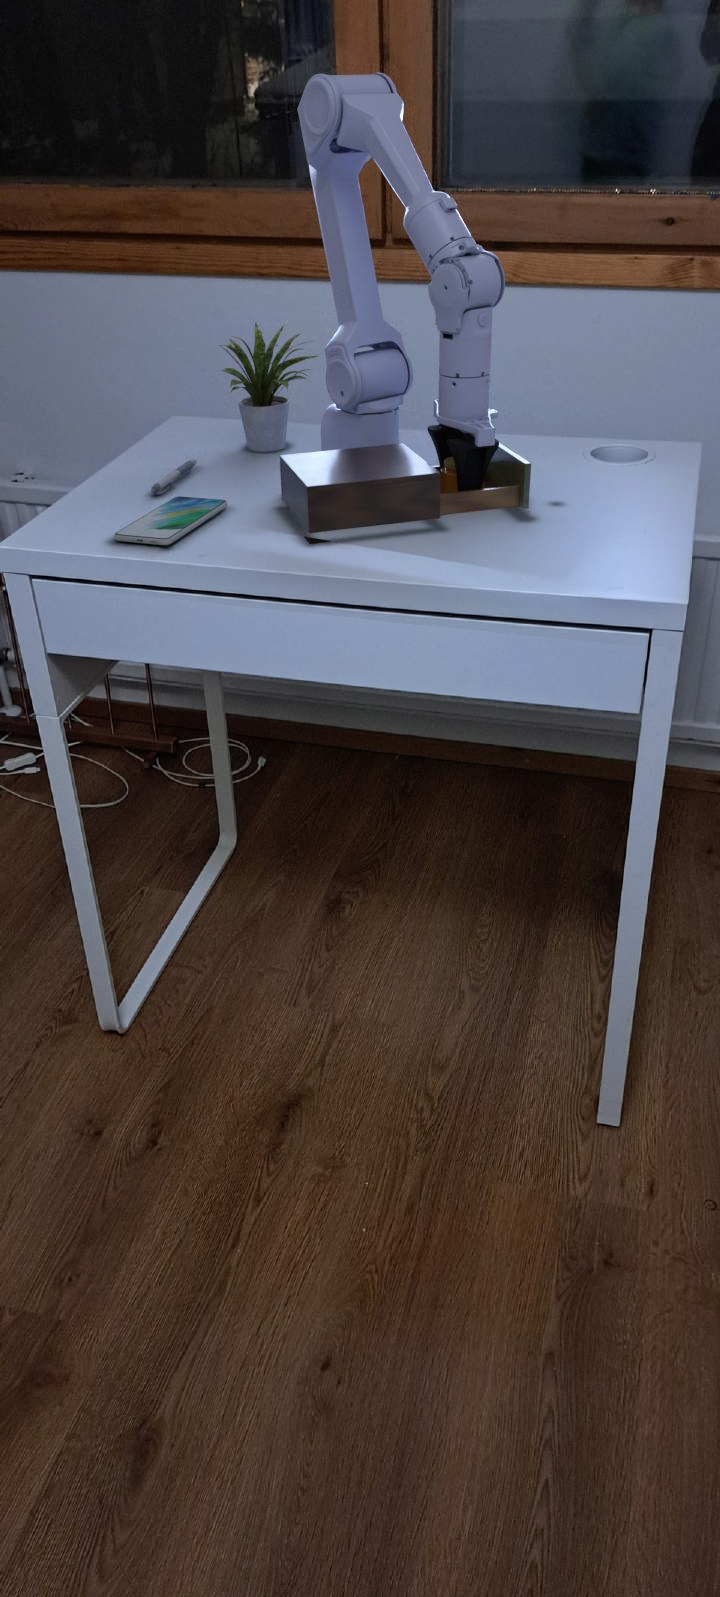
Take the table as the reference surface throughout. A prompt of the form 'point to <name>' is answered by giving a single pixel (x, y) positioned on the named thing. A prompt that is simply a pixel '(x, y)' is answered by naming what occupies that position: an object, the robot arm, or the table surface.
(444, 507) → the drawer
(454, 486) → the jar
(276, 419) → the house plant
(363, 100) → the robot arm
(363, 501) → the cabinet
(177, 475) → the pen
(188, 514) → the smartphone
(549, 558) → the table surface
